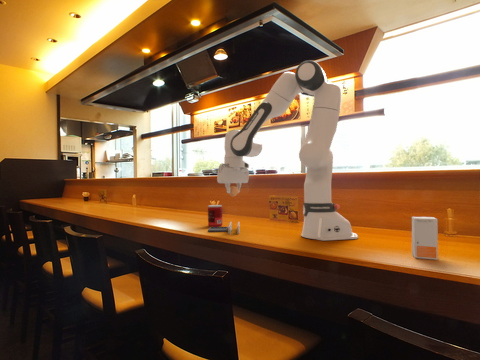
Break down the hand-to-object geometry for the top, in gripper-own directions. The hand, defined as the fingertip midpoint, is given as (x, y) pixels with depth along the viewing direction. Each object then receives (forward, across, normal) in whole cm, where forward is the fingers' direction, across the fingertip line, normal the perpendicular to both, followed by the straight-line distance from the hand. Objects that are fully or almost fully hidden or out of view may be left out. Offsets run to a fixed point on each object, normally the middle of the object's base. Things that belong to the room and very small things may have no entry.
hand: (233, 192), depth 141 cm
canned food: (+19, +7, +18) cm, 27 cm away
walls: (+18, -1, -1) cm, 18 cm away
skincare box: (+16, -7, -79) cm, 81 cm away
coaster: (+18, -3, +7) cm, 20 cm away
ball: (+2, 0, 0) cm, 2 cm away
